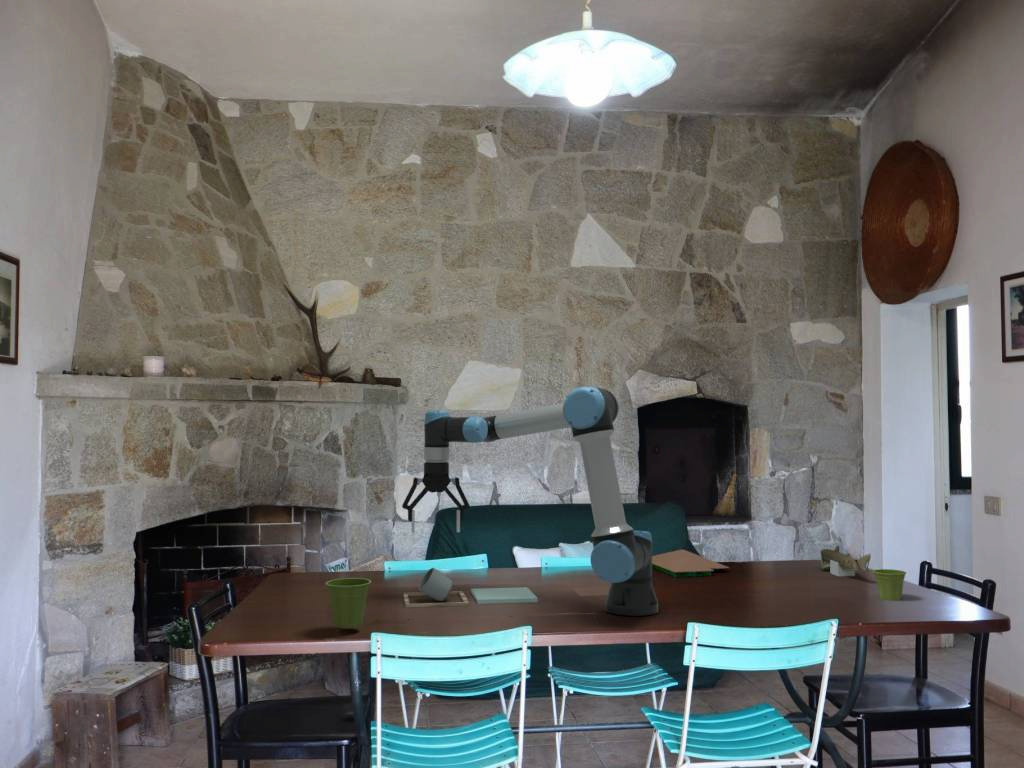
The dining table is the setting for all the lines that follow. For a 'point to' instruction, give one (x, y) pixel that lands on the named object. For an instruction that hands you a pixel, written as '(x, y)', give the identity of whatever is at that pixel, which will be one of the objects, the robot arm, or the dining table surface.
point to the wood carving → (843, 562)
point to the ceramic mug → (436, 585)
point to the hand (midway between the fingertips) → (435, 532)
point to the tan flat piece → (684, 563)
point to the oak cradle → (407, 604)
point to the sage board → (503, 595)
